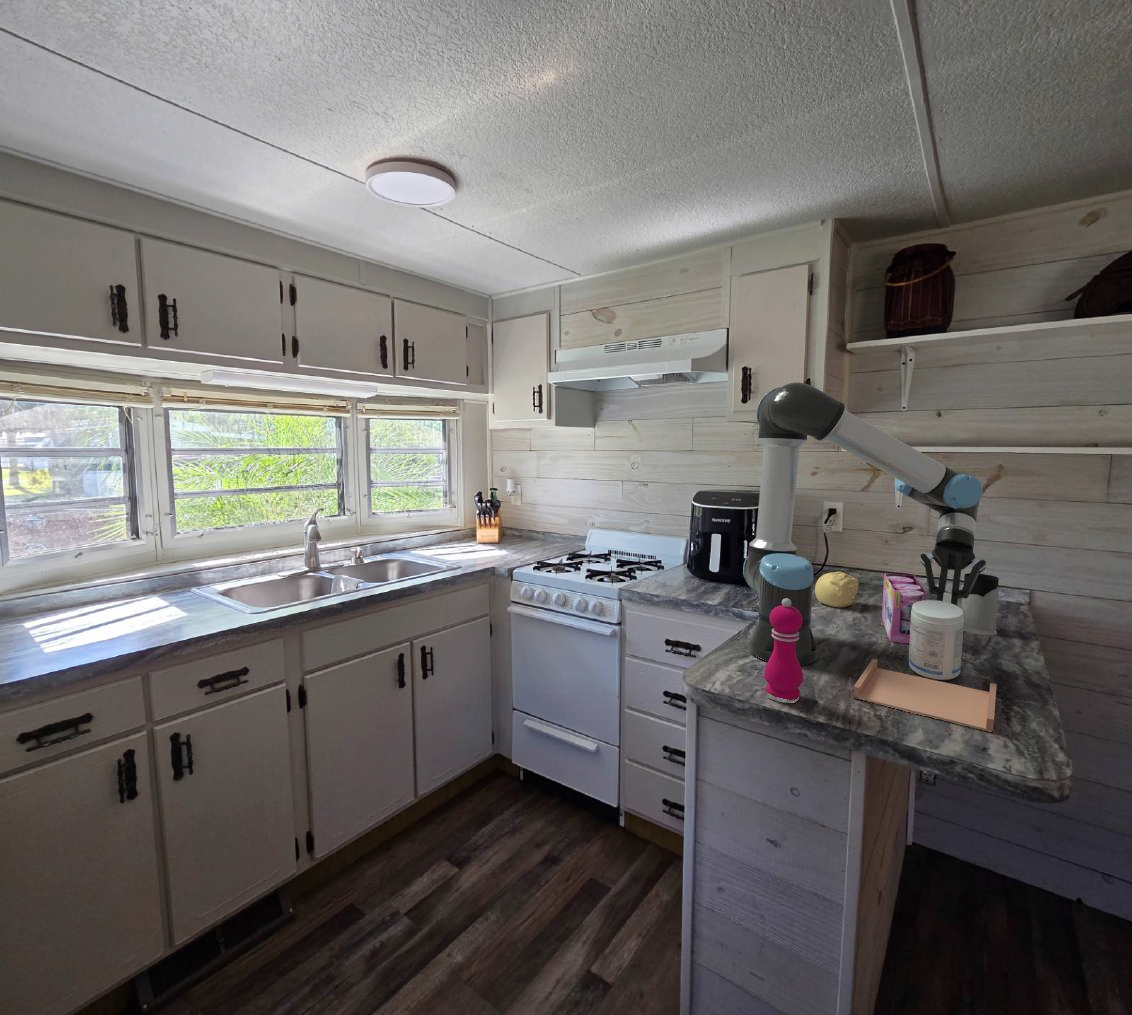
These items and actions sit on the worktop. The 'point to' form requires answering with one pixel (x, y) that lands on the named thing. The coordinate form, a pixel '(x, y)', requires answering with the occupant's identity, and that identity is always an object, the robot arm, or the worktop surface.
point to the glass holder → (981, 605)
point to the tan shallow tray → (927, 697)
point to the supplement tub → (936, 639)
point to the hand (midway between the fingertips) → (944, 620)
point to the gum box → (900, 604)
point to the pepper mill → (784, 653)
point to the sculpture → (836, 589)
